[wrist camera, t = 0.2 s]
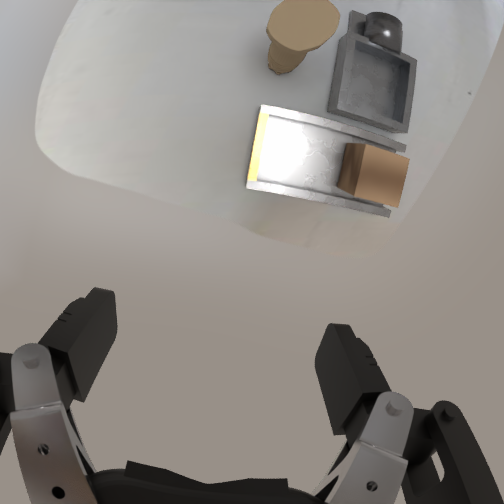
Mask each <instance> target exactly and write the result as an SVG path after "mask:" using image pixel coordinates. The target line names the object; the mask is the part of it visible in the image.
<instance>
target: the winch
mask: <svg viewBox="0 0 504 504" xmlns="http://www.w3.org/2000/svg"><path fill="white" fill-rule="evenodd" d="M402 34H403V31H402V23H401V21H400V20H399V19H398V18H396V17H394V16H392V15H390V14H387V13H383V12H371V13H369V14H367V15H364V14H361V13H359V12H356V11H353V10H352V11H351V12H350V17H349V25H348V32H347V33H346V34H345V35H344V36H343V37H342V38H341V39H340V40H339V44H338V51H337V57H336V63H335V69H334V75H333V81H332V87H331V93H330V98H329V104H328V109H327V112H330V113H334V114H337V115H341V116H344V117H347V118H351V119H354V120H357V121H360V122H363V123H366V124H369V125H372V126H375V127H378V128H380V129H383V130H386V131H389V132H391V133H408V127H409V121H410V115H411V108H412V101H413V94H414V85H415V76H416V66H417V60H416V59H414V58H412V57H410V56H408V55H406V54H404V53H402V52H401V47H402Z"/></svg>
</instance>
